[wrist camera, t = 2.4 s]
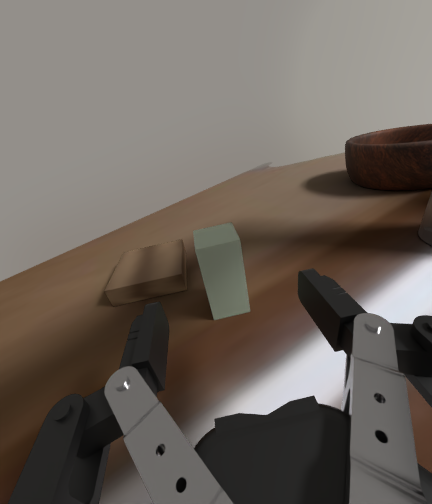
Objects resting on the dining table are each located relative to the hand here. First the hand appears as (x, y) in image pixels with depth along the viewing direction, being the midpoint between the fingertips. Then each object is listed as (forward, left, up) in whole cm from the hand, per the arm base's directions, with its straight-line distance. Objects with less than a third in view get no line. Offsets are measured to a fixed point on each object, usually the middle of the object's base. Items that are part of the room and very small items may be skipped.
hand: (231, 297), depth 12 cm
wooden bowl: (-49, -40, -12) cm, 65 cm away
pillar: (0, -11, -11) cm, 16 cm away
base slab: (+11, -21, -11) cm, 26 cm away
